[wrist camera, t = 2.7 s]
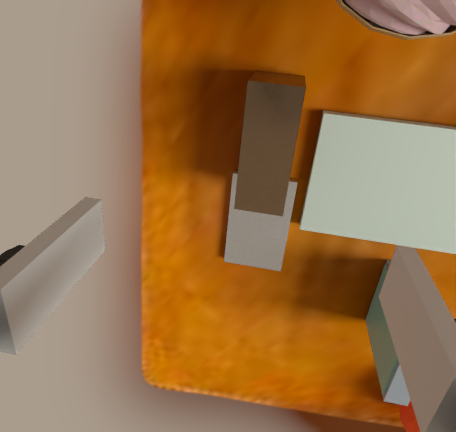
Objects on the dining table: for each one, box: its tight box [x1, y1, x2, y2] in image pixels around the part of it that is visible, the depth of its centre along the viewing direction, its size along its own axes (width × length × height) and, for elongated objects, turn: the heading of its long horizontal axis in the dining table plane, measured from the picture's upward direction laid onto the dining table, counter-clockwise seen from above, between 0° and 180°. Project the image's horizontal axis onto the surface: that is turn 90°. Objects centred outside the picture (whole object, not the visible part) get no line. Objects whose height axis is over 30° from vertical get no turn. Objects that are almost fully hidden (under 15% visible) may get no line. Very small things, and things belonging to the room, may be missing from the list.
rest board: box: [300, 110, 456, 254], centre depth 32 cm, size 11×22×1 cm, turn 85°
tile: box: [366, 260, 410, 406], centre depth 34 cm, size 8×2×10 cm, turn 175°
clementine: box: [399, 400, 456, 432], centre depth 41 cm, size 8×7×7 cm
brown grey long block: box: [224, 71, 306, 271], centre depth 33 cm, size 19×6×6 cm, turn 175°
